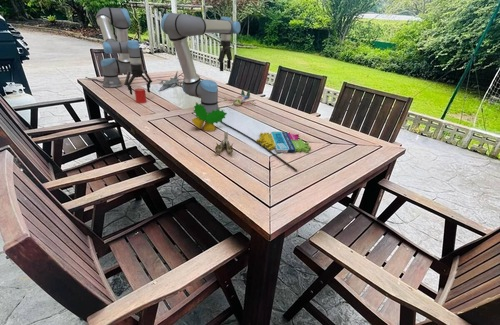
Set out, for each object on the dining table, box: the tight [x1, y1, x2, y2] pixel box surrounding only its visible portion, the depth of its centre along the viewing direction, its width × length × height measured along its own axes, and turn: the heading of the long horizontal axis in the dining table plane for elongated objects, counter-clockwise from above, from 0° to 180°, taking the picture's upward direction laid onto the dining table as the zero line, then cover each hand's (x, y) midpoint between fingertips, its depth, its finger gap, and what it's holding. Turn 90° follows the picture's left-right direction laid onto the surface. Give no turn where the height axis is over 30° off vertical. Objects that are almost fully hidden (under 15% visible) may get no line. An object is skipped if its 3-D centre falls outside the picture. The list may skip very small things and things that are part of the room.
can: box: [134, 88, 147, 104], centre depth 201 cm, size 7×7×10 cm
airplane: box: [156, 70, 184, 92], centre depth 249 cm, size 38×31×10 cm
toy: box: [223, 89, 257, 106], centre depth 219 cm, size 28×7×30 cm
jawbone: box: [214, 131, 234, 156], centre depth 136 cm, size 9×15×10 cm
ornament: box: [191, 102, 228, 132], centre depth 162 cm, size 21×8×15 cm, turn 105°
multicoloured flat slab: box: [256, 131, 312, 154], centre depth 152 cm, size 26×2×30 cm
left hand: (140, 93), depth 200 cm, fingers open, 13 cm apart
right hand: (225, 69), depth 207 cm, fingers open, 13 cm apart
